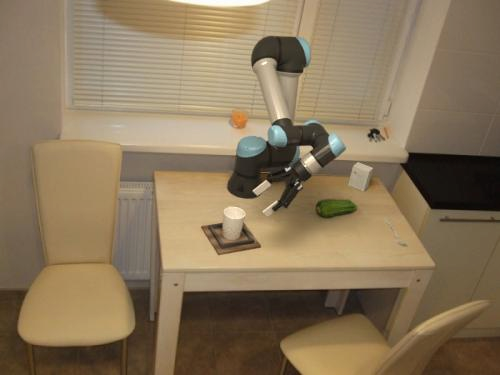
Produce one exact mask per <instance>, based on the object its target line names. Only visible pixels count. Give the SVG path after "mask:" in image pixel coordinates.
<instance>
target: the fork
mask: <svg viewBox="0 0 500 375" xmlns="http://www.w3.org/2000/svg"><path fill="white" fill-rule="evenodd" d="M383 219H384V221H385V222H386V223H387V225H388V226H389V227H390V228H391V229H392V231H394V237H395V236H396V238H397V236H398V238H399V237H400V236H399V234H398V233H397V231H396V229H395V228H394V227H393V225H392V224H391V222H390V221H389V219H388V217H386V216H384V217H383ZM398 238H397V239H395V241H396V242H397V243H399V245H406V246H408V244H407V243H406V242H405V241H404V240H403V239H402V240H400V239H398Z"/></svg>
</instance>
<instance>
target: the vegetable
mask: <svg viewBox="0 0 500 375" xmlns="http://www.w3.org/2000/svg"><path fill="white" fill-rule="evenodd" d="M357 209H358V205H357V204H356V203H354V202H353V201H352V200H350V199H338V198H337V199H336V198H326V199H320V200H319V201H318V202H316V205H315V211H316V213H317V215H319V216H320V217H323V218H326V217H327V218H328V217H333V216H338V215H342V214H351V213H352V212H354V211H356V210H357Z"/></svg>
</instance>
